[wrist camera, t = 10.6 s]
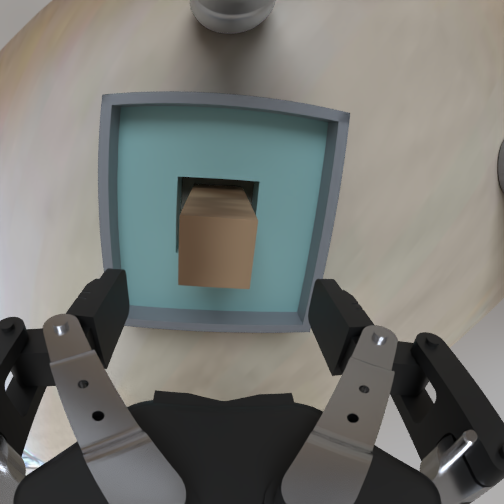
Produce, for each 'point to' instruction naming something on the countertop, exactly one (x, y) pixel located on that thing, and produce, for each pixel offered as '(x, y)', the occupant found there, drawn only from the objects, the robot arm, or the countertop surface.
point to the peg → (216, 238)
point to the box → (221, 167)
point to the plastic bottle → (231, 14)
